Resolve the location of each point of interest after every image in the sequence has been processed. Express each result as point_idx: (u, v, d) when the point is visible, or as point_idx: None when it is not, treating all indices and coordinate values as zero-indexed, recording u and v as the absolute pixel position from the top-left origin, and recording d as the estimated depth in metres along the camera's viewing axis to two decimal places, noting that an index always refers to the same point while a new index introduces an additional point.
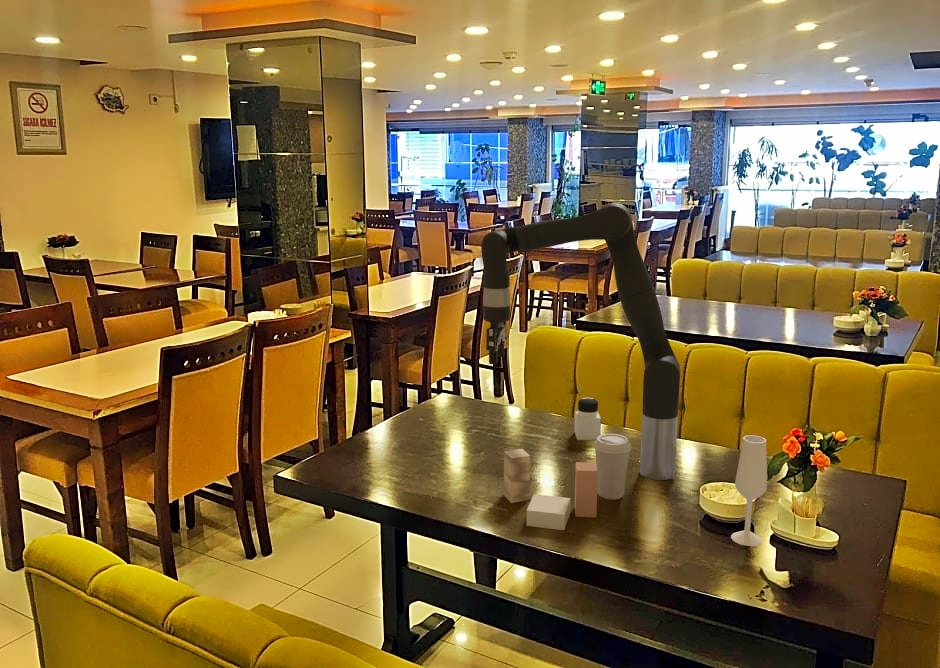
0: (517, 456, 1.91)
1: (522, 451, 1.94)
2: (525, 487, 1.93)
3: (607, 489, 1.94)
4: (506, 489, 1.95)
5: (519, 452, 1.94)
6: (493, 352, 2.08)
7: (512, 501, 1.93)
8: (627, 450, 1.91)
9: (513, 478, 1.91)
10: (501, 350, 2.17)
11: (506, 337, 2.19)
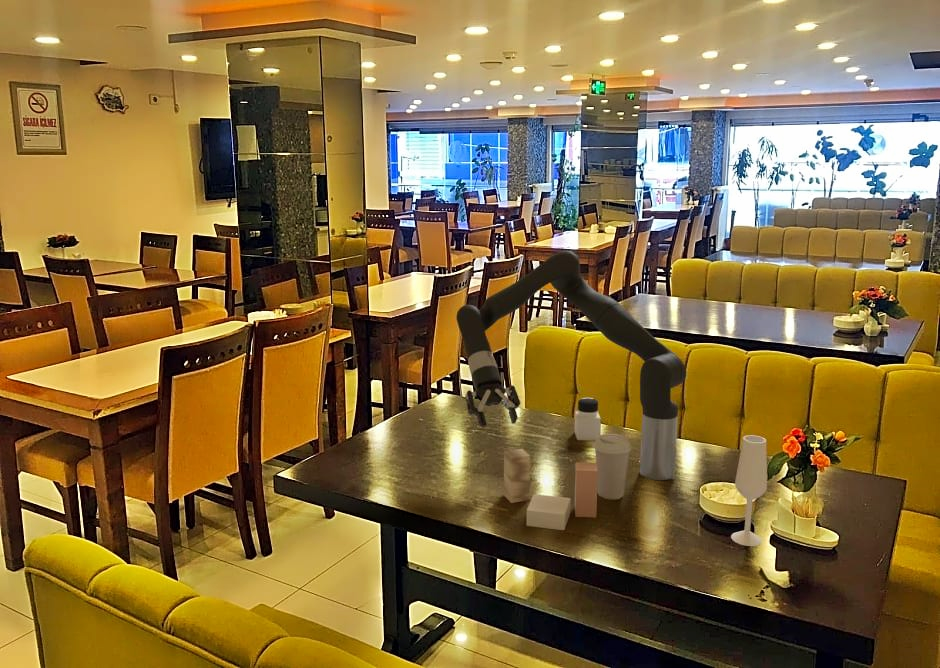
0: (517, 456, 1.91)
1: (522, 451, 1.94)
2: (525, 487, 1.93)
3: (607, 489, 1.94)
4: (506, 489, 1.95)
5: (519, 452, 1.94)
6: None
7: (512, 501, 1.93)
8: (627, 450, 1.91)
9: (513, 478, 1.91)
10: None
11: None
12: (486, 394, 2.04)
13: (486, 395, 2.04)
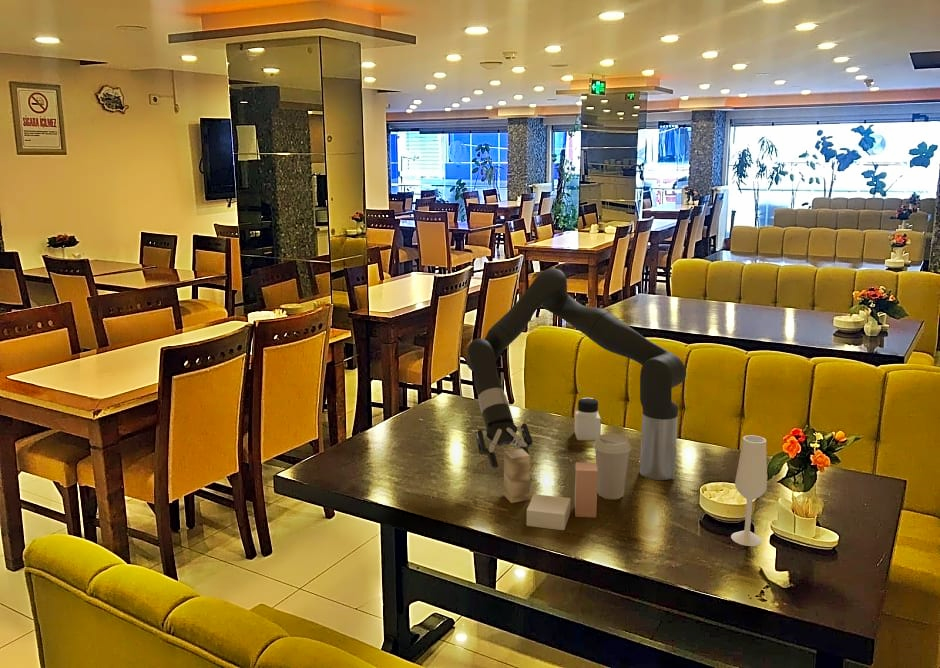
0: (517, 456, 1.91)
1: (522, 451, 1.94)
2: (525, 487, 1.93)
3: (607, 489, 1.94)
4: (506, 489, 1.95)
5: (519, 452, 1.94)
6: None
7: (512, 501, 1.93)
8: (627, 450, 1.91)
9: (513, 478, 1.91)
10: None
11: None
12: (497, 434, 1.98)
13: (497, 435, 1.98)
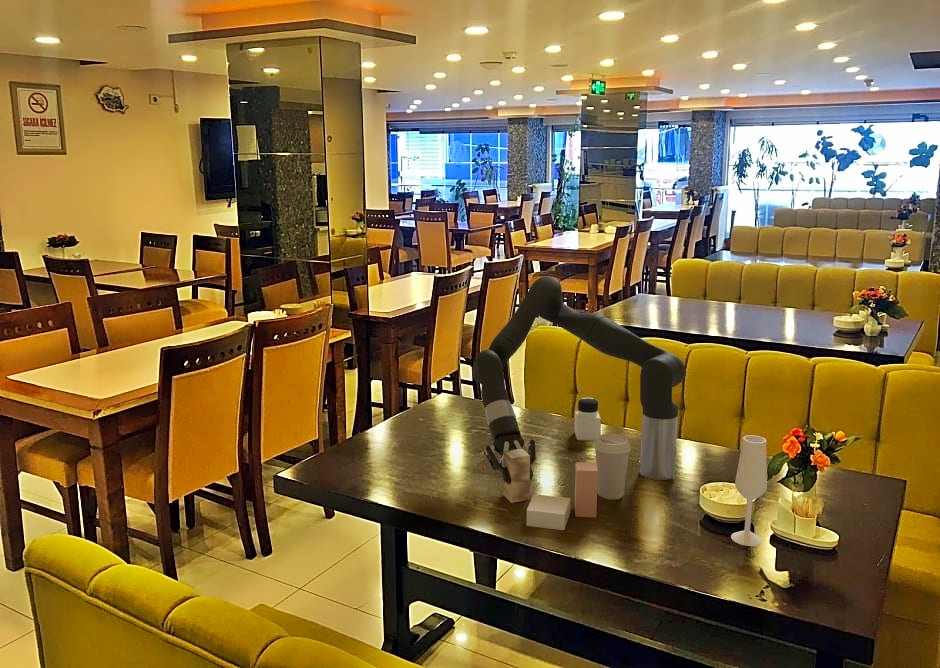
0: (517, 456, 1.91)
1: (522, 451, 1.94)
2: (525, 486, 1.93)
3: (607, 489, 1.94)
4: (506, 489, 1.95)
5: (519, 452, 1.94)
6: None
7: (512, 501, 1.93)
8: (627, 450, 1.91)
9: (513, 478, 1.91)
10: None
11: None
12: (505, 447, 1.95)
13: (506, 448, 1.95)
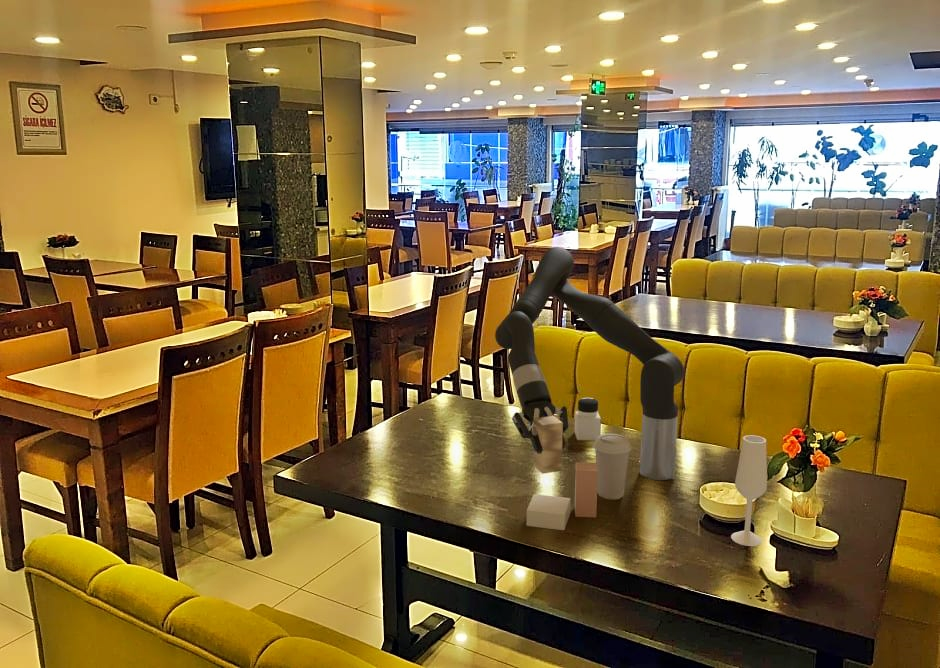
0: (549, 423, 1.77)
1: (554, 418, 1.80)
2: (557, 456, 1.79)
3: (607, 489, 1.94)
4: (536, 460, 1.81)
5: (550, 419, 1.79)
6: None
7: (543, 472, 1.78)
8: (627, 450, 1.91)
9: (544, 447, 1.77)
10: None
11: None
12: (536, 414, 1.81)
13: (536, 415, 1.81)
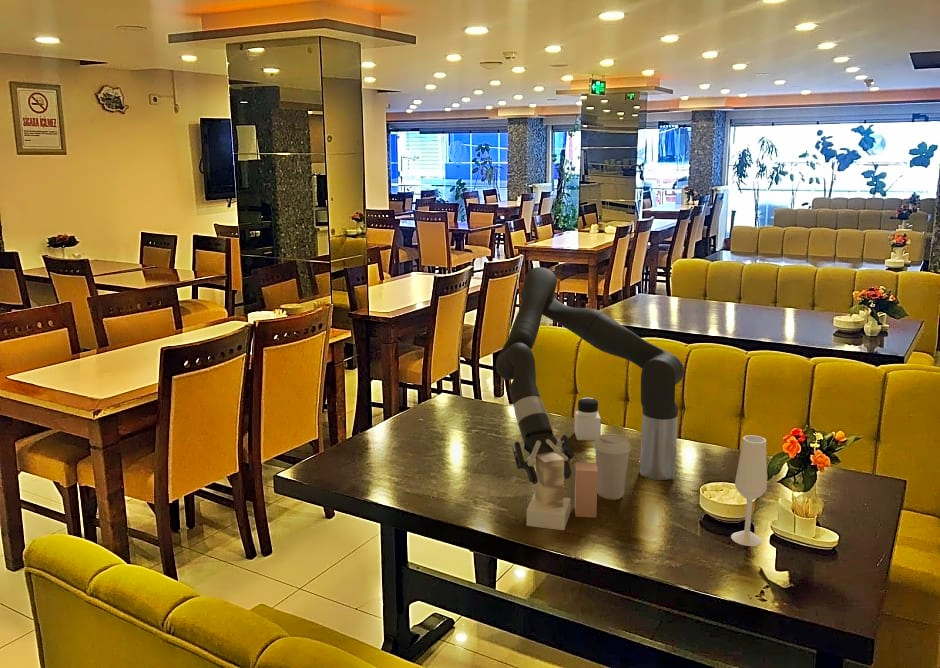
0: (551, 460, 1.78)
1: (555, 454, 1.81)
2: (558, 492, 1.80)
3: (607, 489, 1.94)
4: (537, 495, 1.82)
5: (552, 455, 1.81)
6: None
7: (545, 508, 1.80)
8: (627, 450, 1.91)
9: (546, 483, 1.78)
10: None
11: None
12: (536, 446, 1.82)
13: (536, 447, 1.82)
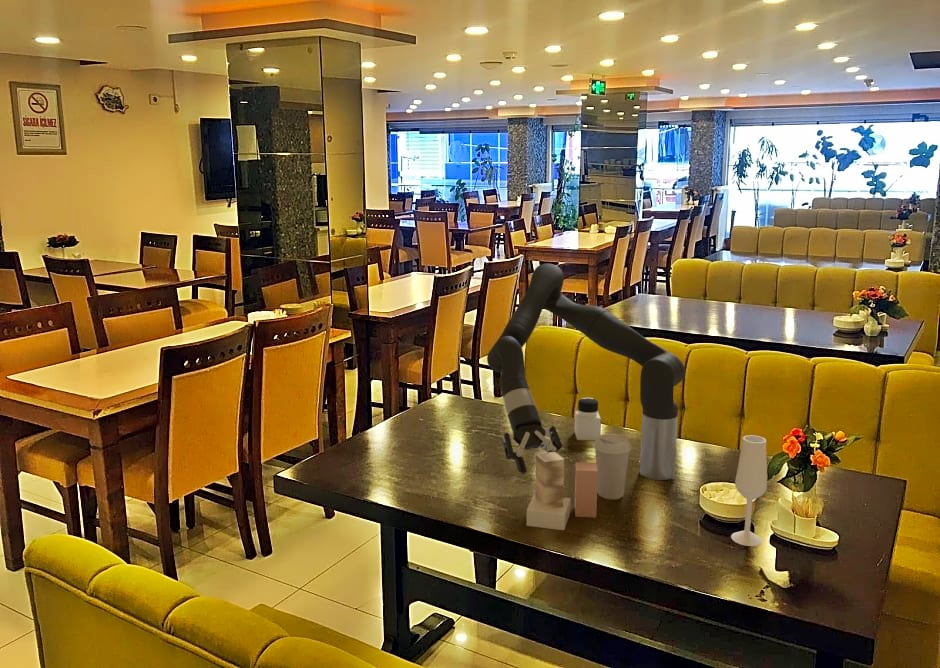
0: (551, 460, 1.78)
1: (555, 454, 1.81)
2: (558, 492, 1.80)
3: (607, 489, 1.94)
4: (537, 495, 1.82)
5: (552, 455, 1.81)
6: None
7: (545, 508, 1.80)
8: (627, 450, 1.91)
9: (546, 483, 1.78)
10: None
11: None
12: (525, 437, 1.87)
13: (525, 438, 1.86)
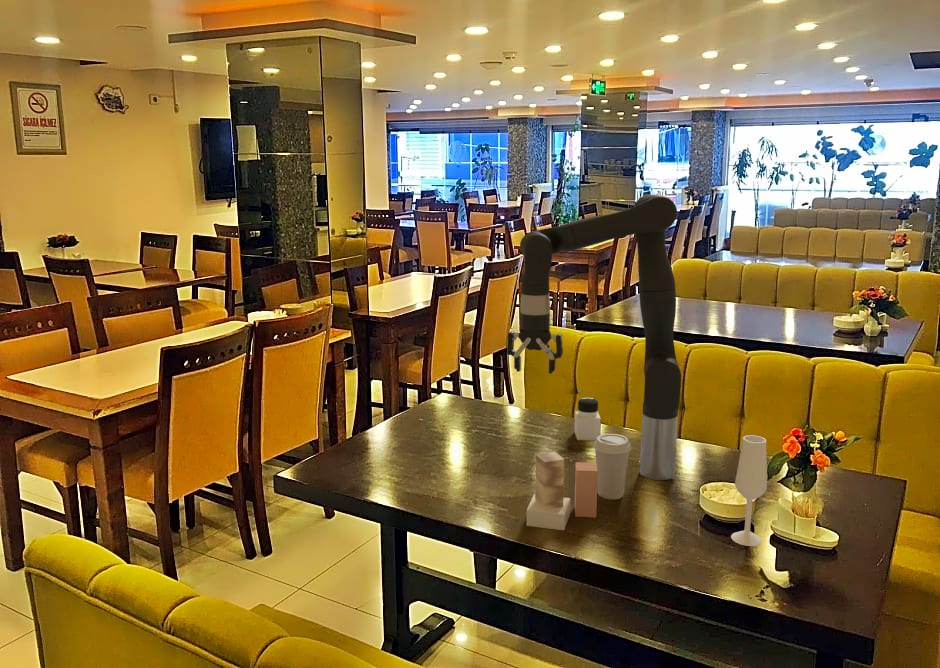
0: (551, 460, 1.78)
1: (555, 454, 1.81)
2: (558, 492, 1.80)
3: (607, 489, 1.94)
4: (537, 495, 1.82)
5: (552, 455, 1.81)
6: (555, 359, 1.98)
7: (545, 508, 1.80)
8: (627, 450, 1.91)
9: (546, 483, 1.78)
10: (520, 363, 2.01)
11: (511, 350, 2.01)
12: (525, 342, 1.96)
13: (525, 343, 1.97)
